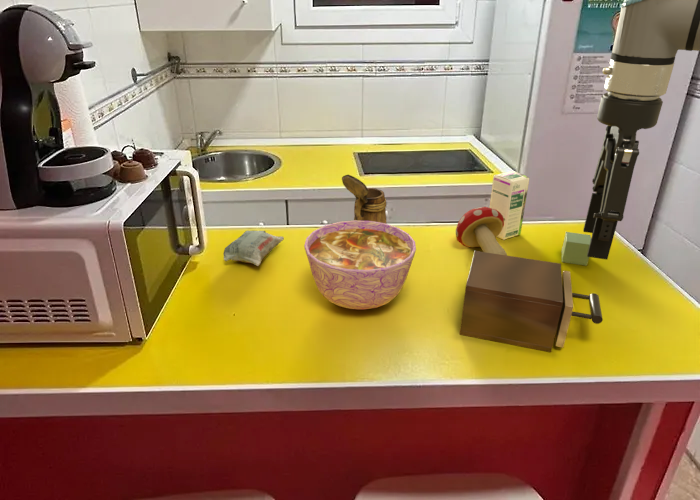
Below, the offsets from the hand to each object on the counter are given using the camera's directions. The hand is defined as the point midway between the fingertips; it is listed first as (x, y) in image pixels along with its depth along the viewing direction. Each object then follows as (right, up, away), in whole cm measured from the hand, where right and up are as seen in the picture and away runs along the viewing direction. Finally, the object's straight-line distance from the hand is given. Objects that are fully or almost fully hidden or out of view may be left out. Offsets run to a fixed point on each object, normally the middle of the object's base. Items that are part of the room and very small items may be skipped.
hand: (594, 243), depth 81 cm
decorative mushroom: (-9, -2, +33) cm, 35 cm away
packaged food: (-58, -3, +32) cm, 67 cm away
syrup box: (-2, +3, +43) cm, 43 cm away
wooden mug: (-35, +1, +39) cm, 52 cm away
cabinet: (-10, -14, +11) cm, 20 cm away
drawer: (-6, -14, +9) cm, 17 cm away
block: (+11, -3, +32) cm, 34 cm away
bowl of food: (-36, -10, +18) cm, 42 cm away
